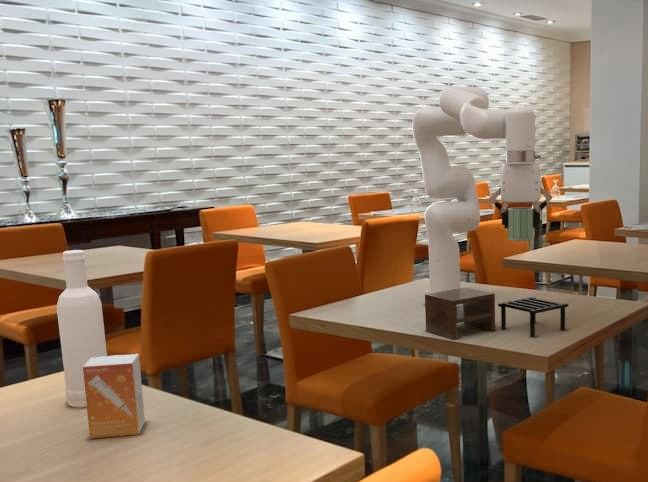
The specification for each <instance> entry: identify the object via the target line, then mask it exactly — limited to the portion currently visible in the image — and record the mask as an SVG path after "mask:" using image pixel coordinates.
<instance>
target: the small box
mask: <svg viewBox="0 0 648 482" xmlns="http://www.w3.org/2000/svg"><path fill="white" fill-rule="evenodd" d="M140 362H141V361H140V353H131V354H115V355H114V354H113V355H107V356H105V357H91V358H90V359H89V360H88V361H87V363H86V364H85V365H84V366H83V373H84V384H85V394H86V404H87V407H86V414H87V421H88V432H89V438H90V439H97V438H98V439H99V438H109V437H121V436H123V437H124V436H133V435H134V436H138V435H140V433H141V431H142V429H143V426H144V425H145V423H146V417H145V416H146V415H145V405H144V396H143V395H144V394H143V385H142V374H141V373H142V372H141V363H140Z"/></svg>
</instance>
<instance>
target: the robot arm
mask: <svg viewBox="0 0 648 482" xmlns="http://www.w3.org/2000/svg"><path fill="white" fill-rule="evenodd" d="M489 106H490V99H489V96H488V94H487V92H486V90H484V89H483V88H481V87H477V86H450V87H447V88H445V89H444V90H443V91H442V92H441V93H440V94H439V97H438V106H427V107H426V106H425V107H422V108H420V109H418V110H417V111H416V112H415V113H414V114H413V117H412V121H411V134H412V137H413V141H414V144H415V146H416V149H417V151H418V156H419V158H420V166H421V172H422V179H423V185H424V190H425V193H426V195H427V196H428V197H429V198H431V199H454V198H456V200H457V201H440V202H435V203H432V204H430V205H428V207H426V209H425V211H424V215H423V217H424V219H423V220H424V224H425V230H426V234H427V245H428V272H429V273H428V274H429V288H428V289H426V290H425V291H424V293H425V294H430V293H436V292H442V291H448V290H454V289H460V288H461V253H460V251H461V250H460V245H459V242H458V241H457V240H456V238H455V237H454V235H453V234H455V233H465V232H467V233H468V232H473V231H475V230H477V228H479V225H480V223H481V209H480V203H479V196H478V191H477V183H476V179H475V176H474V173H473V172H472V171H471V169H469V168H468V167H466V166H451V165H450V161H449V160H450V159H449V154H448V150H447V148H446V147H445V146H444V144H443V143H442V142H441V140H440V139H438V138H437V137H439V136H440V137H441V136H442V137H443V136H445V137H446V136H447V137H448V136H451V137H453V136H456V137H457V136H464V135H466V134H468V135H470V136H473V137H475V138H477V139H482V140H490V139H492V140H493V139H495V140H497V139H499V140H504V139H505V163H503V164H502V169H501V177H500V178H501V179H500V187H499V189H498V190H496V191H494V193H493V194H491V195H490V196H489V198H488V199H489V201H490V202H491V203H492V204H493V205H494V207H495V208H496V209H498V211H499V212H500V213H501V225H502V226H504V229H507V228H508V227H507V209H508V207H509V205H510V204H525V203H526V204H528V203H529V204H530V203H531V204H532V206H533V208H534V229H538V225H541V212H542V211H543V210H544V209H545V207H547V206H548V204H549V203H550V202H551V201H552V199H553V195H551V193H549V192H548V191H547V190H545V189H544V188H543V187H542V186H541V172H540V171H541V170H540V166H539V165H540V164H539V163H538V162H536V160H538V159H542V153H541V152H537V151H536V112H535V111H534V109H532V108H528V107H518V108H509V109H507V108H506V109H504V108H489ZM499 196H500V200H501V201H502V202H503V204H501V203H500V202H499V201H498V199H497V198H498V197H499ZM542 196H543V197H545V199H544V200H543V201H542V202H541V203H540V204H539V202H540V199H541V197H542ZM425 294H424V295H425ZM460 306H463V304H459V305H457V307H460Z"/></svg>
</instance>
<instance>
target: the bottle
mask: <svg viewBox="0 0 648 482" xmlns="http://www.w3.org/2000/svg"><path fill="white" fill-rule="evenodd" d="M62 262H63V268H64V275H65V277H64V278H65V286H66V288H65V289H64V291H62V292H61V294H60V295H59V296H58V299H57V303H56V314H57V322H58V330H59V331H58V332H59V338H60V348H61V356H62V364H63V365H62V366H63V375H64V381H65V382H64V383H65V396H66V399H67V405H68V406H70V407H72V408H81V409H82V408H87V404H86V394H85V384H84V373H83V366H84V365H85V364H86V363H87V361H88V360H89V359H90V358H91V357H105V356H108V353H107V344H106V343H107V342H106V333H105V324H104V315H103V307H102V301H101V299H100V297H99V295H98V293H97V292H96V291H95V290H93V289H92V288H91V287H90V286H89V285H88V277H87V268H86V256H85V251H84V250H82V249H72V250H64V251H63V252H62Z"/></svg>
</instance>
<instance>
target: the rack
mask: <svg viewBox="0 0 648 482" xmlns="http://www.w3.org/2000/svg"><path fill="white" fill-rule="evenodd" d="M497 307H498V308H500V324H501V325H500V326H501V327H500V330H501V331H506V330H507V309H506V308H509V309H513V310H518V311H522V312H526V313H529V337H530V338H535V337H536V329H535V328H536V322H537V320H536V317H537V314H541V313H545V312H550V311H554V310H558V309H560V315H559V317H560V321H559V322H560V323H559V324H560V325H559V328H560V331H566V308H568V307H569V303H568V302H567V303H566V302H564V303H561V302H556V301H550V300H546V299H540V298H537V297H536V296H531V297H525V298H521V299H515V300H510V301H504V302H499V303H497Z"/></svg>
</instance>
